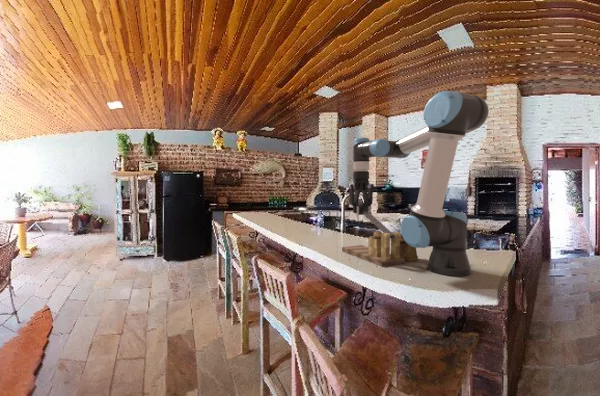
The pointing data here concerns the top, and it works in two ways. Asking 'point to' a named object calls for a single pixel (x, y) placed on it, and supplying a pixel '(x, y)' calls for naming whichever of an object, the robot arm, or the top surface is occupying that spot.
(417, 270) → the top surface
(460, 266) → the robot arm
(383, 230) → the lever
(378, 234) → the walnut
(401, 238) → the wooden mug
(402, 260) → the nutcracker base
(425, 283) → the top surface
